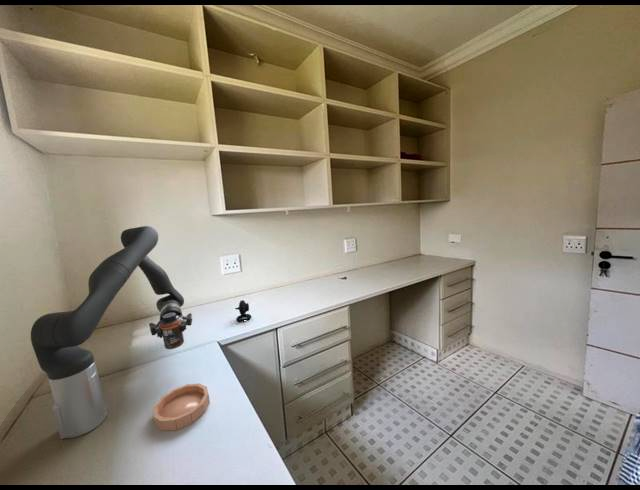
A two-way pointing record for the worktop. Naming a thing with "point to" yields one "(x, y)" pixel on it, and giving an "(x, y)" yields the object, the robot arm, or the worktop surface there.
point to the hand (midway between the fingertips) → (172, 331)
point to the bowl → (181, 407)
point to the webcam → (243, 311)
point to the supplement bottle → (172, 331)
